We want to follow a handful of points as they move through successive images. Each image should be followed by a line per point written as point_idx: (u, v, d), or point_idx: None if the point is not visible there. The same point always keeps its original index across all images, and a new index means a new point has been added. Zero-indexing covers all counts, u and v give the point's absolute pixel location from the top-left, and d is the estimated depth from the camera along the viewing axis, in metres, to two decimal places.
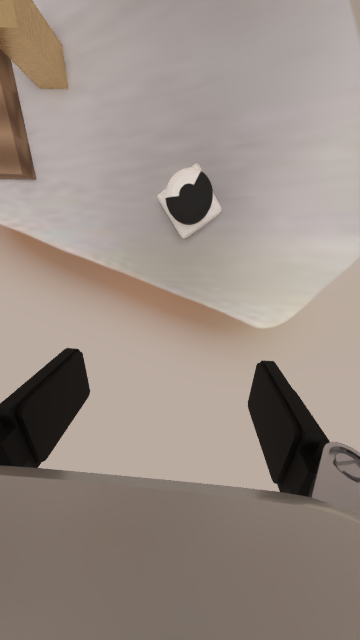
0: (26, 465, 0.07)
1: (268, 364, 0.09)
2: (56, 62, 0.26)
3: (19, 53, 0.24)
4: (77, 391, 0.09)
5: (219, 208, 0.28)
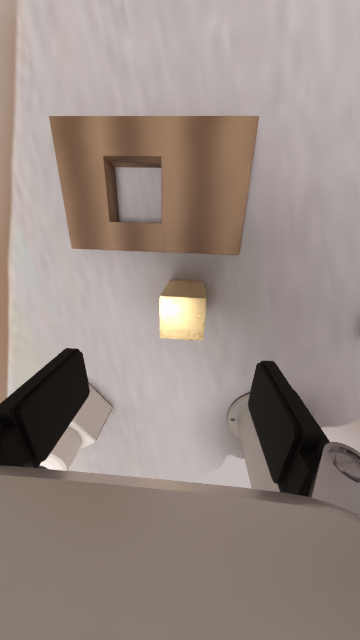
0: (26, 465, 0.07)
1: (268, 364, 0.09)
2: None
3: None
4: (77, 391, 0.09)
5: None
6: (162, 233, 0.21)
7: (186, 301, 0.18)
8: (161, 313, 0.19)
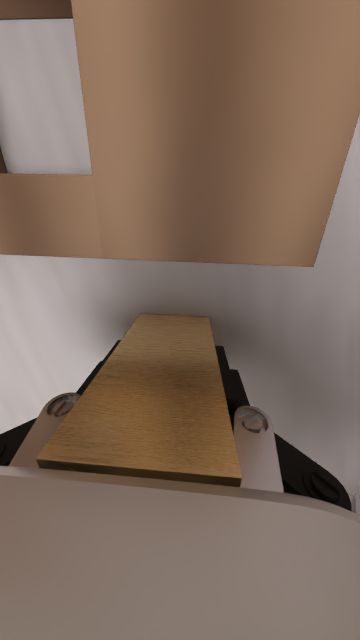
0: None
1: (216, 348, 0.10)
2: None
3: None
4: None
5: None
6: (98, 206, 0.07)
7: None
8: None
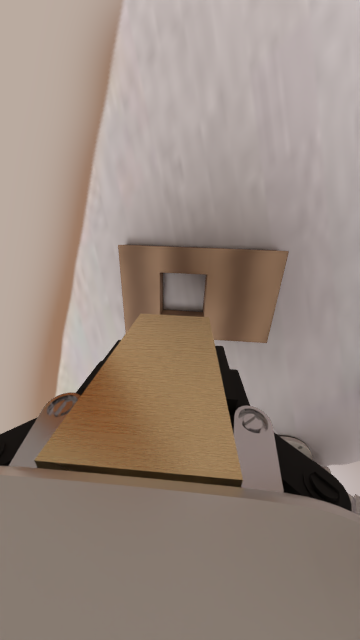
0: None
1: (216, 348, 0.10)
2: None
3: None
4: None
5: None
6: None
7: None
8: None
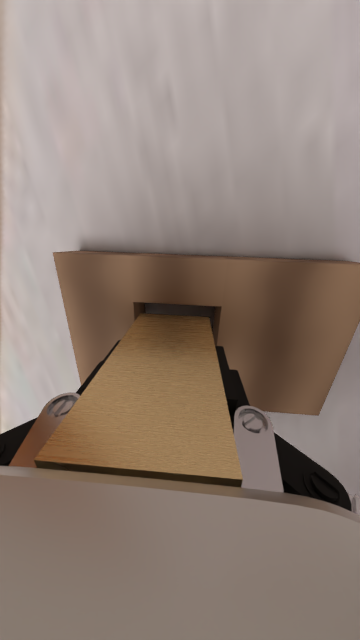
0: None
1: (216, 348, 0.10)
2: None
3: None
4: None
5: None
6: None
7: None
8: None
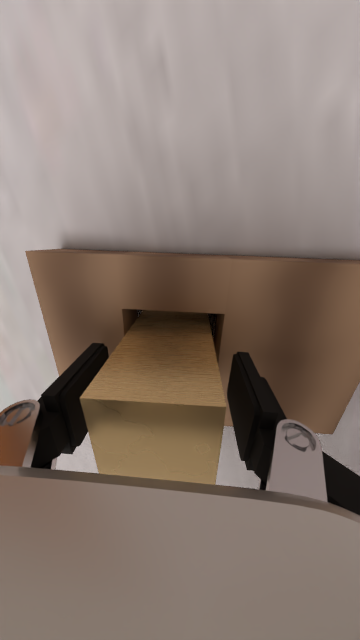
0: (64, 449, 0.08)
1: (242, 354, 0.09)
2: None
3: None
4: None
5: None
6: None
7: (163, 412, 0.06)
8: (94, 437, 0.06)
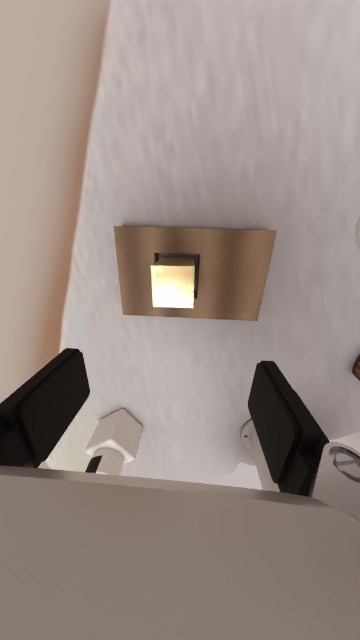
0: (26, 465, 0.07)
1: (268, 364, 0.09)
2: None
3: None
4: (77, 391, 0.09)
5: None
6: (197, 305, 0.27)
7: (176, 270, 0.19)
8: (153, 282, 0.20)
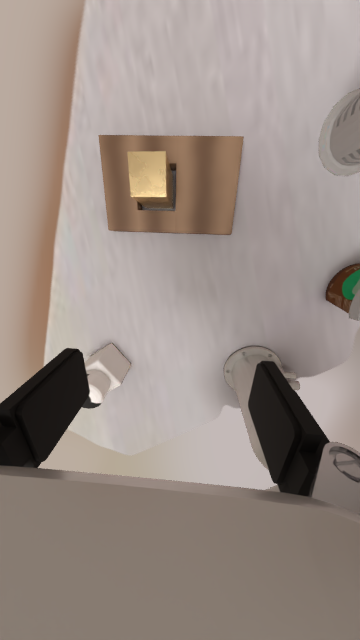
0: (26, 465, 0.07)
1: (268, 364, 0.09)
2: (152, 206, 0.30)
3: None
4: (77, 391, 0.09)
5: None
6: (176, 218, 0.30)
7: (149, 155, 0.22)
8: (130, 170, 0.23)
